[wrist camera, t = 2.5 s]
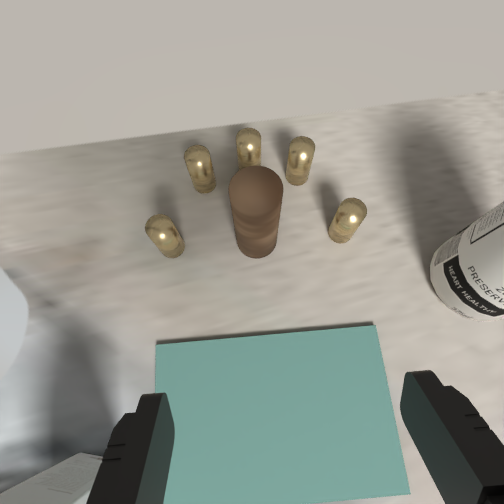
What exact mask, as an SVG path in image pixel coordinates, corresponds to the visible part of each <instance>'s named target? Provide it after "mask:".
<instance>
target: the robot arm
mask: <svg viewBox="0 0 504 504" xmlns="http://www.w3.org/2000/svg"><path fill="white" fill-rule="evenodd" d="M400 410H401V415H402V418H403V421H404V424H405V426H406V428H407V430H408V432H409V434H410V435H411V437H412V439H413V441H414V443H415V445H416V447H417V449H418V451H419V453H420V455H421V457H422V459H423V461H424V463H425V465H426V467H427V469H428V471H429V473H430V475H431V476H432V478H433V480H434V482H435V484H436V486H437V488H438V490H439V492H440V494H441V496H442V498H443V500H444V502H445V504H504V445H503V444H502V443H501V441H500V440H499V439H498V437H497V436H496V435H495V433H494V432H493V431H492V430H490V428H489V426H488V424H487V423H486V422H485V420H484V419H483V418H482V417H480V415H479V412H478V411H477V410H476V408H475V407H474V406H473V405H472V403H471V402H470V401H469V399H468V398H467V397H465V396H464V395H463V394H462V393H460V392H459V391H458V390H456V389H455V388H454V387H452V386H443V385H442V383H441V382H440V380H439V379H438V378H437V376H436V375H435V373H434V372H432V371H431V370H425V371H414V372H407V373H406V374H405V378H404V384H403V390H402V396H401V402H400ZM174 439H175V427H174V421H173V417H172V413H171V409H170V405H169V401H168V397H167V394H166V393H165V392H164V393H152V394H143V395H142V396H141V398H140V400H139V403H138V406H137V409H136V412H135V413H125V414H124V416H123V417H122V418H121V420H120V421H119V422H118V423H117V425H116V426H115V427H114V429H113V431H112V434H111V437H110V440H109V442H108V445H107V446H108V447H107V449H106V450H105V453H104V456H103V459H102V463H101V464H100V467H99V470H98V472H97V475H96V478H95V480H94V483H93V486H92V489H91V491H90V494H89V497H88V499H87V502H86V504H163V502H164V497H165V491H166V485H167V480H168V474H169V469H170V463H171V457H172V452H173V446H174Z"/></svg>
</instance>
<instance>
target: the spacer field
mask: <svg viewBox="0 0 504 504" xmlns="http://www.w3.org/2000/svg"><path fill="white" fill-rule="evenodd" d="M236 145H237V155H238V165H239V171H240V170H241V169H243V168H246V167H249V166H261V135H260V133H259V132H258V131H257V130H255V129H253V128H244V129H242V130H240V131H239V132H238V133H237V135H236ZM314 151H315V144H314V142H313V141H312V140H311V139H310V138H308V137H304V136H300V137H296V138H294V139H293V140H292V141H291V143H290V148H289V155H288V162H287V169H286V179H287V181H288V182H289V183H290V184H292V185H296V186H299V185H302V184H304V183H305V182H306V181H307V179H308V175H309V171H310V167H311V163H312V159H313V155H314ZM184 159H185V162H186V165H187V168H188V171H189V174H190V176H191V179H192V182H193V185H194V188H195V189H196V191H198V192H199V193H209V192H211V191H212V190H213V189H214V188H215V186H216V180H215V176H214V172H213V167H212V163H211V158H210V154H209V151H208V149H207V148H206V147H204V146H201V145H194V146H191V147H189V148H188V149H187V150H186V151H185V154H184ZM366 214H367V208H366V206H365V204H364V203H363V202H362V201H361V200H359V199H356V198H347V199H345V200H344V201H342V203H341V204H340V206H339V208H338V210H337V212H336V214H335V216H334V218H333V220H332V223H331V225H330V227H329V229H328V234H329V237H330V238H331V239H332V240H333V241H334V242H336V243H346V242H347V241H349V240H350V238H351V237H352V236H353V234H354V233H355V231H356V230H357V228H358V227H359V225H360V224H361V223H362V221H363V220H364V218H365V217H366ZM145 231H146V233H147V235H148V236H149V237H150V239H151V240H152V241H153V242H154V243H155V245H156V246H157V247H158V248H159V250H160V251H161V252H162V253H163V254H164V255H165V256H166V257H168V258H176V257H178V256H180V255H181V254H182V253H183V251H184V248H185V244H184V241H183V239H182V238H181V236H180V234H179V233H178V231H177V229H176V227H175V226H174V224H173V222H172V220H171V219H170V218H169V217H168V216H166V215H163V214H157V215H154V216H152V217H151V218H150V219H149V220H148V221H147V223H146V226H145Z"/></svg>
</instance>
